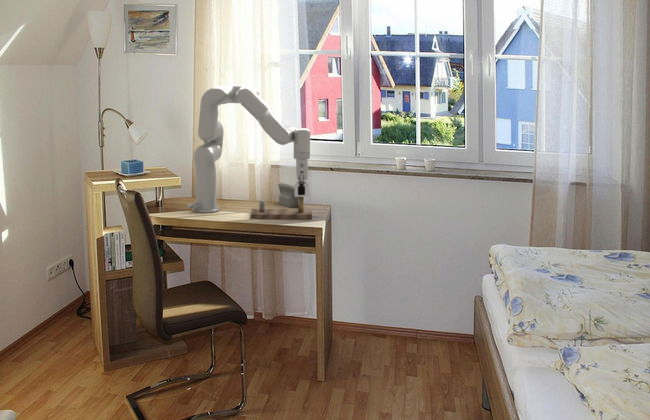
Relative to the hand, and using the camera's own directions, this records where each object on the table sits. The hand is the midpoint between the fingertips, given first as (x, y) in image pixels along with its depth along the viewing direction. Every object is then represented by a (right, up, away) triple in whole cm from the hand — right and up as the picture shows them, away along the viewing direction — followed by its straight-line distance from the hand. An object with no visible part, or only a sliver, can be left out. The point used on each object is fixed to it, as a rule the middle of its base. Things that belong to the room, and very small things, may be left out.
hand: (301, 193), depth 347 cm
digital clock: (-6, -5, +27) cm, 28 cm away
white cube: (0, -1, 0) cm, 1 cm away
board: (-9, -11, +2) cm, 14 cm away
